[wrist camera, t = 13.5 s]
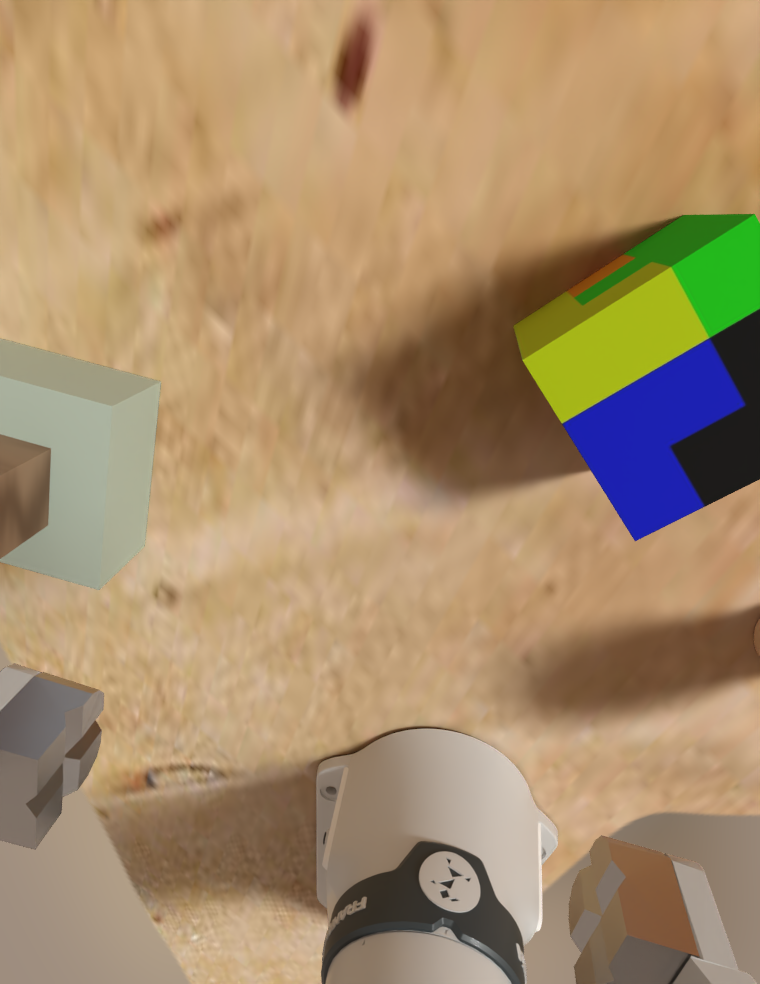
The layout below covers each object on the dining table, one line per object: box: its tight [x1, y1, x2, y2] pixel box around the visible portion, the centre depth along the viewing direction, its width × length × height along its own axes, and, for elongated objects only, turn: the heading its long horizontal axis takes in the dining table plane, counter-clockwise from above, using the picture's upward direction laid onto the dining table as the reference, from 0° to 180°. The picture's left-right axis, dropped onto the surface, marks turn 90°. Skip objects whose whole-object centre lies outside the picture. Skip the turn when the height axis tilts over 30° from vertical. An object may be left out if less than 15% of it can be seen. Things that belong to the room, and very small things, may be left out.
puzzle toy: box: [513, 214, 760, 541], centre depth 33 cm, size 10×10×10 cm
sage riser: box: [0, 338, 161, 590], centre depth 42 cm, size 12×12×6 cm
